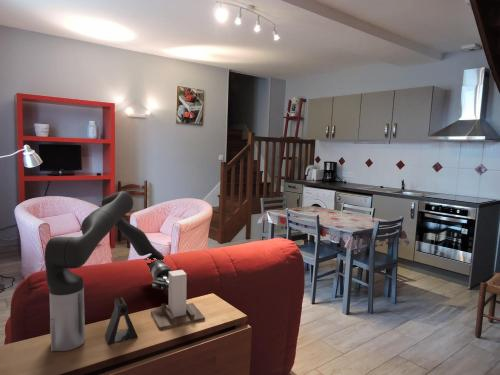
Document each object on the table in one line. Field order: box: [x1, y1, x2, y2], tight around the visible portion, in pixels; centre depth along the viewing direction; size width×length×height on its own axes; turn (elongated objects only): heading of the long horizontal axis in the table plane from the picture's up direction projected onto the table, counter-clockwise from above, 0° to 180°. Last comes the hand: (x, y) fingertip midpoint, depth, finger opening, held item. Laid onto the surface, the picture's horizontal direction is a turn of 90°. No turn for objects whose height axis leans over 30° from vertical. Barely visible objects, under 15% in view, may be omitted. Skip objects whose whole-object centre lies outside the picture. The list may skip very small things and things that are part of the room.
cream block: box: [168, 269, 188, 317], centre depth 127 cm, size 5×5×15 cm
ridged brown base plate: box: [150, 302, 206, 331], centre depth 127 cm, size 16×13×3 cm
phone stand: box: [104, 296, 138, 346], centre depth 113 cm, size 9×6×12 cm, turn 120°
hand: (175, 290), depth 129 cm, fingers closed
